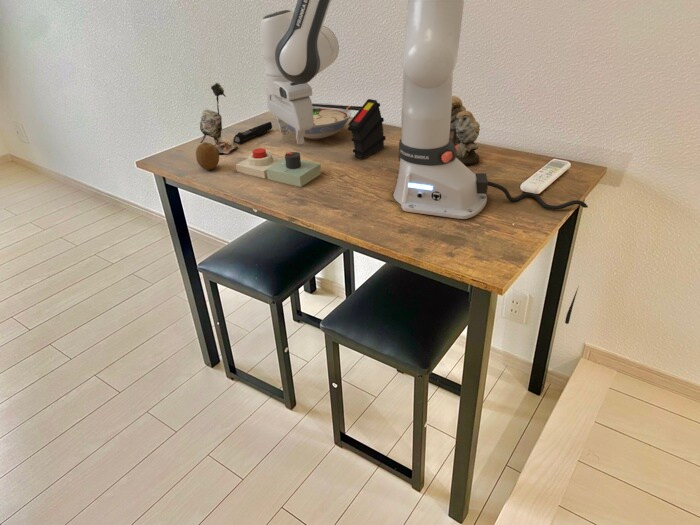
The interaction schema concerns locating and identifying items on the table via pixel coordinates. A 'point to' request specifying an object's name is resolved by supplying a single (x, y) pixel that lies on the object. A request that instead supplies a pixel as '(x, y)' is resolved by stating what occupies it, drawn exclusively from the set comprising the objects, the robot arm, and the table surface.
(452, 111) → the owl figurine
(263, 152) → the power button
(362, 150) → the magazine
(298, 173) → the dial panel
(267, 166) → the switch box
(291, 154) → the dial
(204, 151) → the fruit
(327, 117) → the ramen bowl
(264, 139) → the table surface
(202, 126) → the grey mottled tall figure
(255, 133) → the electric trimmer
